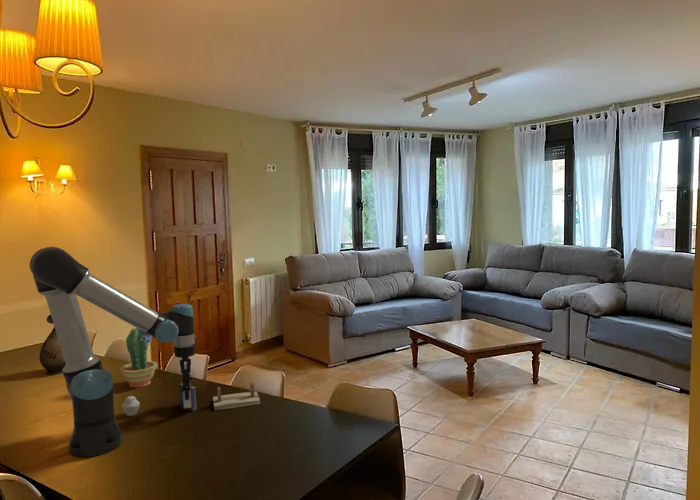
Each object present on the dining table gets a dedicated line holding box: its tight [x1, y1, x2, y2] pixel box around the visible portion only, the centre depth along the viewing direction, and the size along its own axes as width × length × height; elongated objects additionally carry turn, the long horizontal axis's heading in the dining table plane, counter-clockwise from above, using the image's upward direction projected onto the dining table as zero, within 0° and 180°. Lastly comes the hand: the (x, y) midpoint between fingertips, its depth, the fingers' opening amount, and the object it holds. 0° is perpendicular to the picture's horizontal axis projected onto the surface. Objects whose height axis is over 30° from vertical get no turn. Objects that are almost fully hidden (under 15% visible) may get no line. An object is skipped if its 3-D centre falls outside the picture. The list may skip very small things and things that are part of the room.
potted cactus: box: [119, 327, 158, 388], centre depth 217 cm, size 15×15×25 cm
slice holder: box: [212, 382, 261, 412], centre depth 192 cm, size 11×17×6 cm, turn 108°
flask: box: [178, 382, 197, 412], centre depth 187 cm, size 9×3×11 cm, turn 50°
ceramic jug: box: [38, 314, 66, 375], centre depth 239 cm, size 17×15×30 cm
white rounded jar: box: [121, 395, 141, 417], centre depth 183 cm, size 6×6×7 cm
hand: (187, 402), depth 188 cm, fingers open, 10 cm apart
